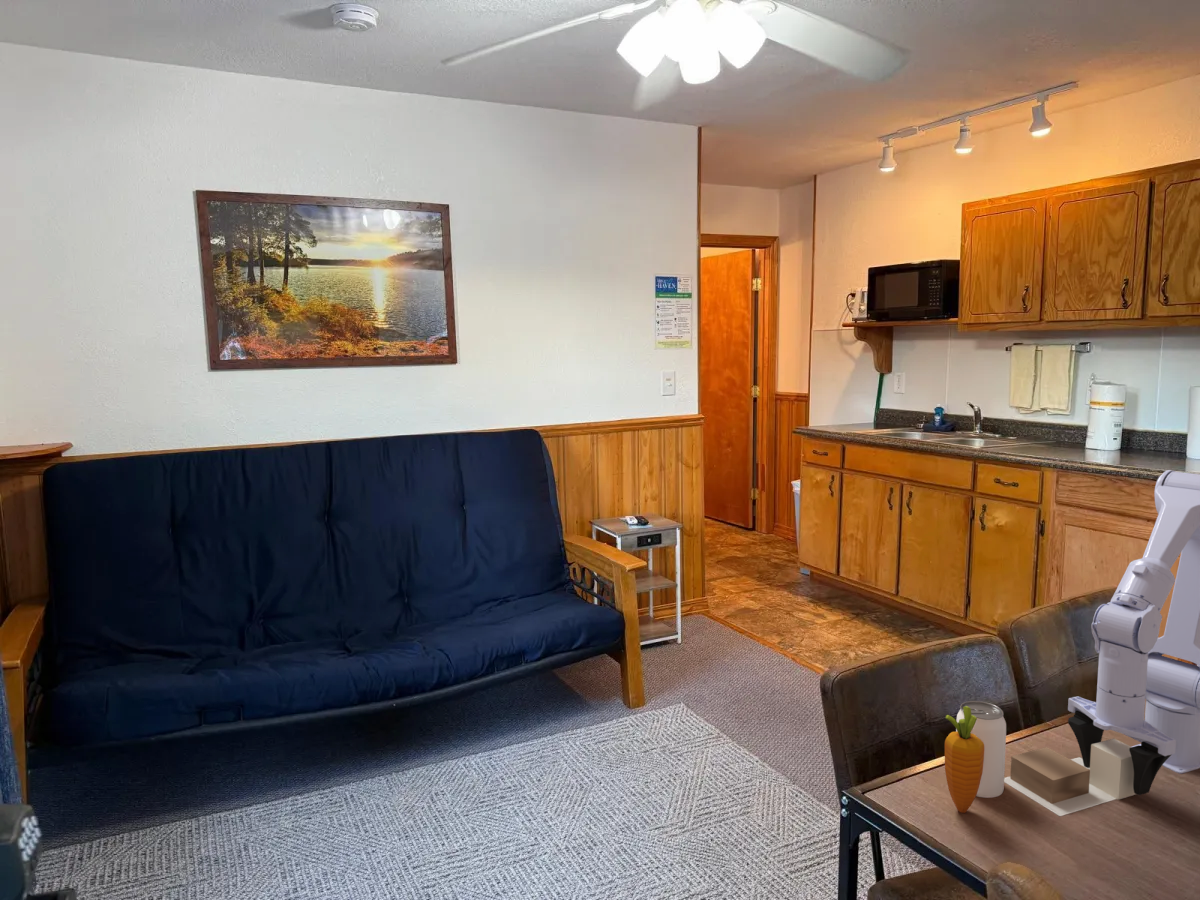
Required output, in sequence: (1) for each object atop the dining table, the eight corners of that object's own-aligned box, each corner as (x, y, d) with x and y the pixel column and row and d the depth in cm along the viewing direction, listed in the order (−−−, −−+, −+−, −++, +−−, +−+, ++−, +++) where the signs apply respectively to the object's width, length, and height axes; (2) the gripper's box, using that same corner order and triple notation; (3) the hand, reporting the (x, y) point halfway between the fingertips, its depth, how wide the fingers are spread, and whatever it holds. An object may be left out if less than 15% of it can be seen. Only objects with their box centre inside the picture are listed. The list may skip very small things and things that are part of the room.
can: (1009, 802, 112) (1012, 721, 110) (960, 798, 113) (962, 718, 111) (996, 777, 118) (999, 701, 116) (949, 774, 119) (952, 698, 118)
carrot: (965, 828, 106) (969, 722, 104) (934, 809, 110) (937, 707, 108) (990, 817, 108) (994, 713, 106) (958, 799, 113) (962, 699, 111)
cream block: (1111, 776, 117) (1113, 738, 116) (1141, 792, 112) (1144, 752, 112) (1088, 783, 115) (1091, 744, 114) (1118, 799, 111) (1121, 759, 110)
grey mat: (1079, 759, 122) (1079, 757, 122) (1143, 793, 113) (1143, 790, 113) (999, 781, 117) (999, 779, 117) (1059, 818, 108) (1059, 816, 107)
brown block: (1045, 768, 119) (1047, 746, 119) (1088, 792, 113) (1090, 769, 112) (1010, 778, 117) (1011, 756, 116) (1051, 803, 110) (1053, 780, 110)
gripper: (1054, 673, 117) (1050, 760, 119) (1152, 715, 104) (1145, 812, 105) (1089, 665, 119) (1084, 750, 121) (1189, 706, 106) (1182, 800, 108)
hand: (1115, 778), depth 114 cm, fingers open, 7 cm apart
